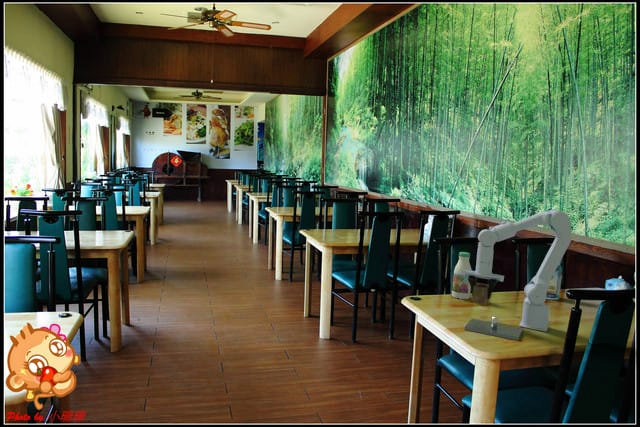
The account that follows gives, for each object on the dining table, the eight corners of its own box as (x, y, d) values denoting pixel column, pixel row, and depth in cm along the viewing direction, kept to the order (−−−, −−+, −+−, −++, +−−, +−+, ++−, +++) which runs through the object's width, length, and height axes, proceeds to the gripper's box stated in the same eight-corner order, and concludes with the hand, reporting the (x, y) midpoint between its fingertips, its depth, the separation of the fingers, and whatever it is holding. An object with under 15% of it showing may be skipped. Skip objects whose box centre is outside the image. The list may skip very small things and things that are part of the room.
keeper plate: (522, 331, 189) (524, 317, 188) (518, 340, 178) (519, 326, 178) (471, 321, 197) (472, 308, 197) (464, 329, 187) (465, 316, 186)
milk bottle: (456, 294, 238) (460, 250, 236) (472, 297, 233) (476, 253, 231) (448, 296, 232) (452, 252, 230) (465, 300, 227) (469, 255, 225)
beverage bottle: (563, 300, 240) (568, 256, 238) (547, 300, 238) (552, 256, 236) (551, 295, 248) (556, 253, 246) (535, 295, 246) (540, 252, 244)
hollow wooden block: (489, 300, 201) (490, 285, 200) (485, 304, 195) (487, 288, 194) (475, 298, 203) (477, 283, 203) (471, 302, 197) (473, 286, 197)
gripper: (506, 262, 198) (503, 298, 199) (467, 257, 204) (464, 291, 206) (503, 265, 191) (499, 302, 193) (463, 260, 198) (459, 295, 200)
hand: (481, 297), depth 199 cm, fingers closed on hollow wooden block, 5 cm apart
